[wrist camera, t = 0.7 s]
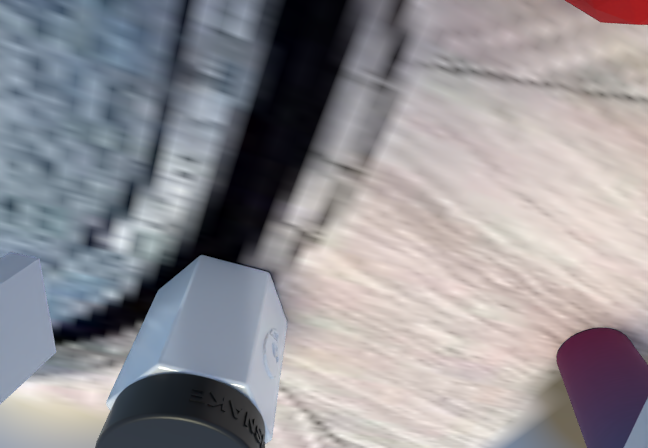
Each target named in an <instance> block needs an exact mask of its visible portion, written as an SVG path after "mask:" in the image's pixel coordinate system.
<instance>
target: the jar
mask: <svg viewBox="0 0 648 448" xmlns="http://www.w3.org/2000/svg"><path fill="white" fill-rule="evenodd" d="M286 330H287V320H286V317H285V314H284V312H283V309H282V306H281V303H280V300H279V297H278V295H277V292H276V289H275V286H274V283H273V280H272V278H271V275H270V273H269V272H266V271H262V270H258V269H255V268H251V267H247V266H243V265H239V264H236V263H232V262H228V261H224V260H220V259H217V258H213V257H209V256H205V255H200V256H199V257H198V258H196V259H195V260H194V261H193V262H192V263H190V264H189V265H188V266H187V267H186V268H184V269H183V270H182V271H181V272H180V273H178V274H177V275H176V276H175V277H174V278H172V279H171V280H170V281H169V282H168V283H166V284H165V285H164V286H163V287H162V288H160V289H159V290H158V292H157V294H156V296H155V298H154V300H153V303H152V305H151V307H150V309H149V311H148V313H147V315H146V318H145V320H144V322H143V324H142V326H141V328H140V331H139V333H138V335H137V337H136V339H135V341H134V343H133V346H132V348H131V350H130V352H129V354H128V356H127V359H126V361H125V363H124V365H123V367H122V369H121V371H120V374H119V376H118V378H117V380H116V382H115V384H114V387H113V389H112V391H111V393H110V395H109V397H108V399H107V402H106V404H107V407H108V408H109V409H110V413H109V415H108V418H107V420H106V422H105V424H104V426H103V429H102V431H101V433H100V435H99V438H98V440H97V443H96V447H95V448H265V444H266V443H268V442H269V441H271V439H272V435H273V428H274V420H275V413H276V405H277V398H278V390H279V383H280V375H281V367H282V360H283V352H284V345H285V337H286Z"/></svg>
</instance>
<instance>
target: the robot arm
mask: <svg viewBox="0 0 648 448" xmlns="http://www.w3.org/2000/svg"><path fill="white" fill-rule="evenodd" d="M55 353H56V348H55V342H54V336H53V331H52V325H51V319H50V314H49V308H48V303H47V297H46V291H45V286H44V280H43V274H42V269H41V263H40V258H37V257H32V256H27V255H23V254H18V253H13V252H10V253H8V254H6V255H5V256H3V257H2V258H0V404H1V403H2V402H3V401H4V400H5V399H7V398H8V397H9V396H10V395H11V394H12V393H13V392H14V391H15V390H16V389H17V388H18V387H19V386H20V385H22V384H23V383H24V382H25V381H26V380H27V379H28V378H29V377H30V376H31V375H32V374H33V373H34V372H36V371H37V370H38V369H39V368H40V367H41V366H42V365H43V364H44V363H45V362H46V361H47V360H48V359H49V358H51V357H52V356H53V355H54V354H55ZM624 448H648V398H647V400H646V402H645V404H644V406H643V408H642V411H641V413H640V415H639V417H638V419H637V421H636V423H635V425H634V427H633V429H632V431H631V434H630V436H629V438H628V440H627V442H626V444H625V446H624Z"/></svg>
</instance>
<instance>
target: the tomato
mask: <svg viewBox="0 0 648 448" xmlns="http://www.w3.org/2000/svg"><path fill="white" fill-rule="evenodd" d="M565 1H567V2H569V3H570V4H572V5H573V6H575V7H577V8H578V9H580V10H582V11H583V12H585V13H586V14H588V15H590V16H591V17H593V18H595V19H596V20H598V21H600V22H605V23H621V24H637V25H648V0H565Z"/></svg>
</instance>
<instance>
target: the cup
mask: <svg viewBox="0 0 648 448" xmlns="http://www.w3.org/2000/svg"><path fill="white" fill-rule="evenodd" d="M557 364H558V367H559V370H560V373H561V376H562V378H563V381H564V384H565V387H566V389H567V393H568V395H569V398H570V401H571V404H572V407H573V409H574V412H575V415H576V418H577V421H578V423H579V426H580V429H581V432H582V435H583V437H584V440H585V443H586V446H587V448H624V446H625V444H626V442H627V440H628V438H629V436H630V434H631V431H632V429H633V427H634V425H635V423H636V421H637V419H638V417H639V415H640V413H641V411H642V408H643V406H644V404H645V402H646V400H647V398H648V365H647V363H646V362H645V360H644V359H643V358H642V356H641V355H640V354H639V352H638V351H637V350H636V348H635V347H634V346H633V344H632V343H631V341H630V340H629V339H628V338H627V337H626V336H625V335H624V334H623V333H621V332H619V331H617V330H614V329H608V328H596V329H590V330H586V331H583V332H580V333H578V334H576V335H574V336H572V337H571V338H569V339H568V340H567V341H566V342H565V343H564V344H563V345H562V346H561V348H560V349H559V351H558V354H557Z"/></svg>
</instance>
